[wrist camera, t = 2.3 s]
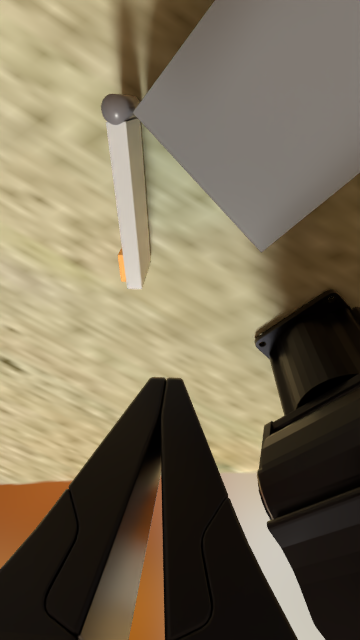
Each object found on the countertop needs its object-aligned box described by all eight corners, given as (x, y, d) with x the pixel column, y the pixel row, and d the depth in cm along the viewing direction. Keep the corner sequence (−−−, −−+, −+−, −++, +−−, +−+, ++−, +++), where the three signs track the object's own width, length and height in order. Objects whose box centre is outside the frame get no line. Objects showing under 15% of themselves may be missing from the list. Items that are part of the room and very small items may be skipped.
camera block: (250, 225, 18) (263, 257, 14) (128, 88, 15) (103, 84, 11) (431, 67, 14) (517, 54, 10) (316, -182, 10) (381, -342, 7)
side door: (129, 262, 20) (117, 290, 17) (110, 95, 15) (87, 94, 12) (152, 262, 20) (143, 291, 17) (140, 95, 15) (125, 93, 12)
